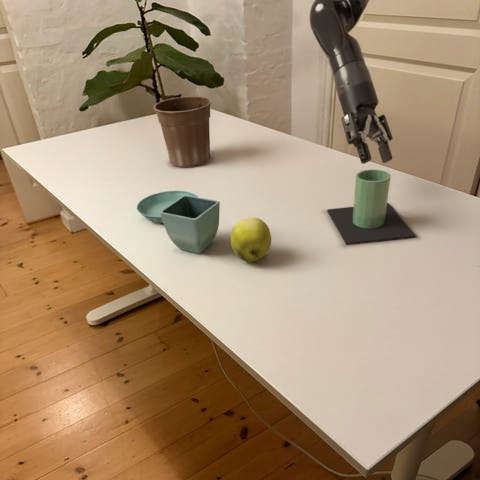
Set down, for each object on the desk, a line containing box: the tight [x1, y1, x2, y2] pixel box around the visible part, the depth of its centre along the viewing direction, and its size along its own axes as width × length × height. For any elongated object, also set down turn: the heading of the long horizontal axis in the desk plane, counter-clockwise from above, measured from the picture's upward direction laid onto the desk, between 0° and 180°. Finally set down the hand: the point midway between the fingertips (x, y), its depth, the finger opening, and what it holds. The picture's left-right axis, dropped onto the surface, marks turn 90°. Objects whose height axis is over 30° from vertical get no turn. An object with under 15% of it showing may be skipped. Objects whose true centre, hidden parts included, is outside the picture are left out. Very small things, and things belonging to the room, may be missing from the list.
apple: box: [230, 217, 272, 263], centre depth 88 cm, size 8×9×8 cm
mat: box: [326, 202, 416, 246], centre depth 98 cm, size 14×16×1 cm
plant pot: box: [153, 95, 212, 168], centre depth 134 cm, size 16×16×16 cm
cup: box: [352, 169, 392, 228], centre depth 95 cm, size 7×7×10 cm
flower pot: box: [160, 195, 221, 254], centre depth 93 cm, size 9×9×9 cm
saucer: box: [136, 190, 199, 224], centre depth 109 cm, size 15×15×3 cm
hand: (377, 161), depth 100 cm, fingers open, 8 cm apart
